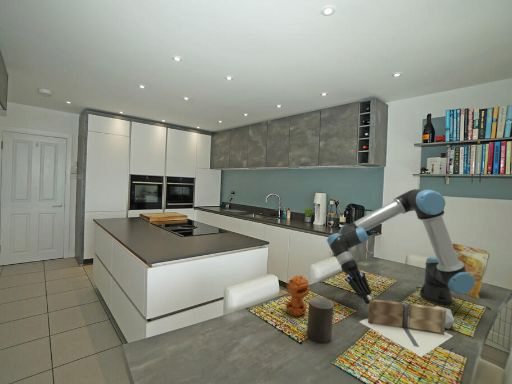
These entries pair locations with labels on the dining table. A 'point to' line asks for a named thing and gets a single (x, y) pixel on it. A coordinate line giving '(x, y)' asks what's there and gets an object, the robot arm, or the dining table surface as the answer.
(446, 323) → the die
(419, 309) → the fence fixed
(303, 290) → the orange carved figurine
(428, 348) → the board
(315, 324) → the pillar candle
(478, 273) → the pancake mix bag
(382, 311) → the fence gate
